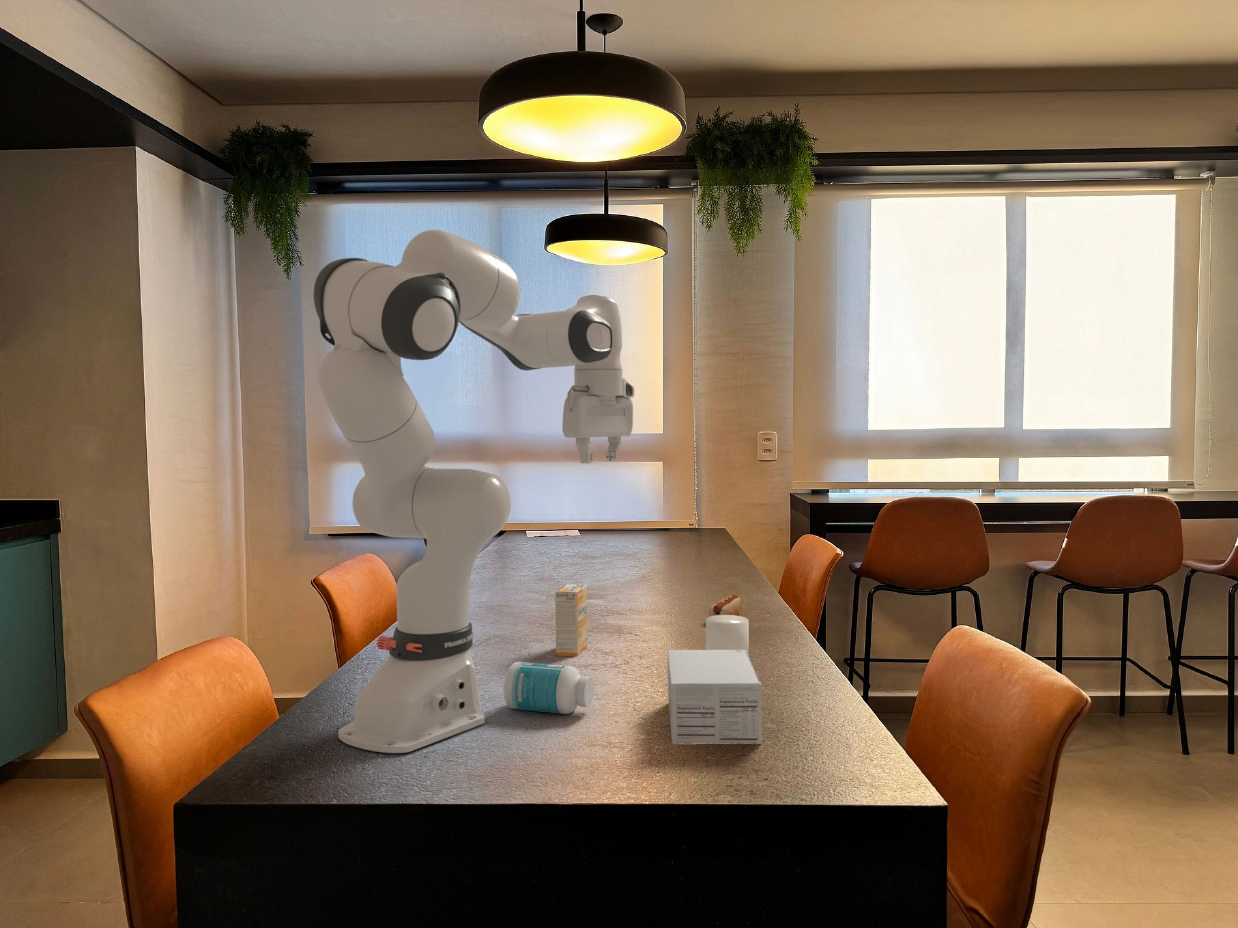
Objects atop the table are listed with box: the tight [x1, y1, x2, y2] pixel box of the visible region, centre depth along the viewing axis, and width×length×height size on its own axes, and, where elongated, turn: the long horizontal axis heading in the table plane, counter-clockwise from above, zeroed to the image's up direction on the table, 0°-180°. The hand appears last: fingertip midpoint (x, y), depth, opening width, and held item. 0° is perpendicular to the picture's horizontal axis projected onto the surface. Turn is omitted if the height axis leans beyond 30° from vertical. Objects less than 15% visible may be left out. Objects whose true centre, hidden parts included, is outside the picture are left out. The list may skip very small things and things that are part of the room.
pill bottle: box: [503, 661, 595, 715], centre depth 127 cm, size 8×7×14 cm
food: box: [708, 594, 743, 617], centre depth 187 cm, size 14×6×5 cm, turn 154°
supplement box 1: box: [554, 583, 588, 657], centre depth 161 cm, size 8×5×13 cm, turn 168°
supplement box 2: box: [667, 649, 763, 744], centre depth 121 cm, size 17×13×9 cm
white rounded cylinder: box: [705, 615, 750, 658], centre depth 149 cm, size 8×8×9 cm
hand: (599, 462), depth 145 cm, fingers open, 8 cm apart
